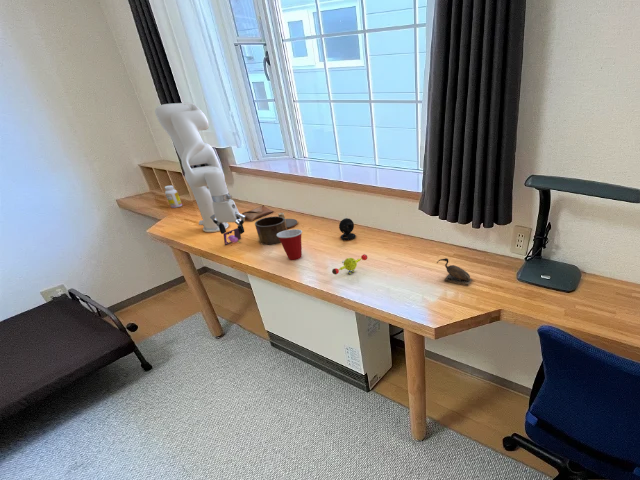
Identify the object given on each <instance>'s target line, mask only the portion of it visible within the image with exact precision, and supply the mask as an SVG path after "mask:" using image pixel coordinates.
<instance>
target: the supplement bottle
mask: <svg viewBox="0 0 640 480" xmlns="http://www.w3.org/2000/svg"><path fill="white" fill-rule="evenodd" d="M164 190H165V191H164V194H165V197H166V199H167V201H168V204H169V206H170V208H172V209H177V208H181V207H182V206H183V203H182V200H181V198H180V194H179V193H178V190H176V189H175V187H174V185H171V184H170V185H166V186H164Z"/></svg>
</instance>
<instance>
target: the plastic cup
mask: <svg viewBox="0 0 640 480" xmlns="http://www.w3.org/2000/svg"><path fill="white" fill-rule="evenodd" d="M302 235H303V230H302V229H298V228H296V229H295V228H293V229H292V228H291V229H287V230H285V231H282V232H279V233H277V235H276V236H277V237H278V238H279V240H280V242H281V243H280V244H281V246H282V248H283V251H284V252H285V254H286V256H287V258H288V260H290V261H296V260H299V259H301V258H302V256H303V254H302V248H303V247H302Z"/></svg>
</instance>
